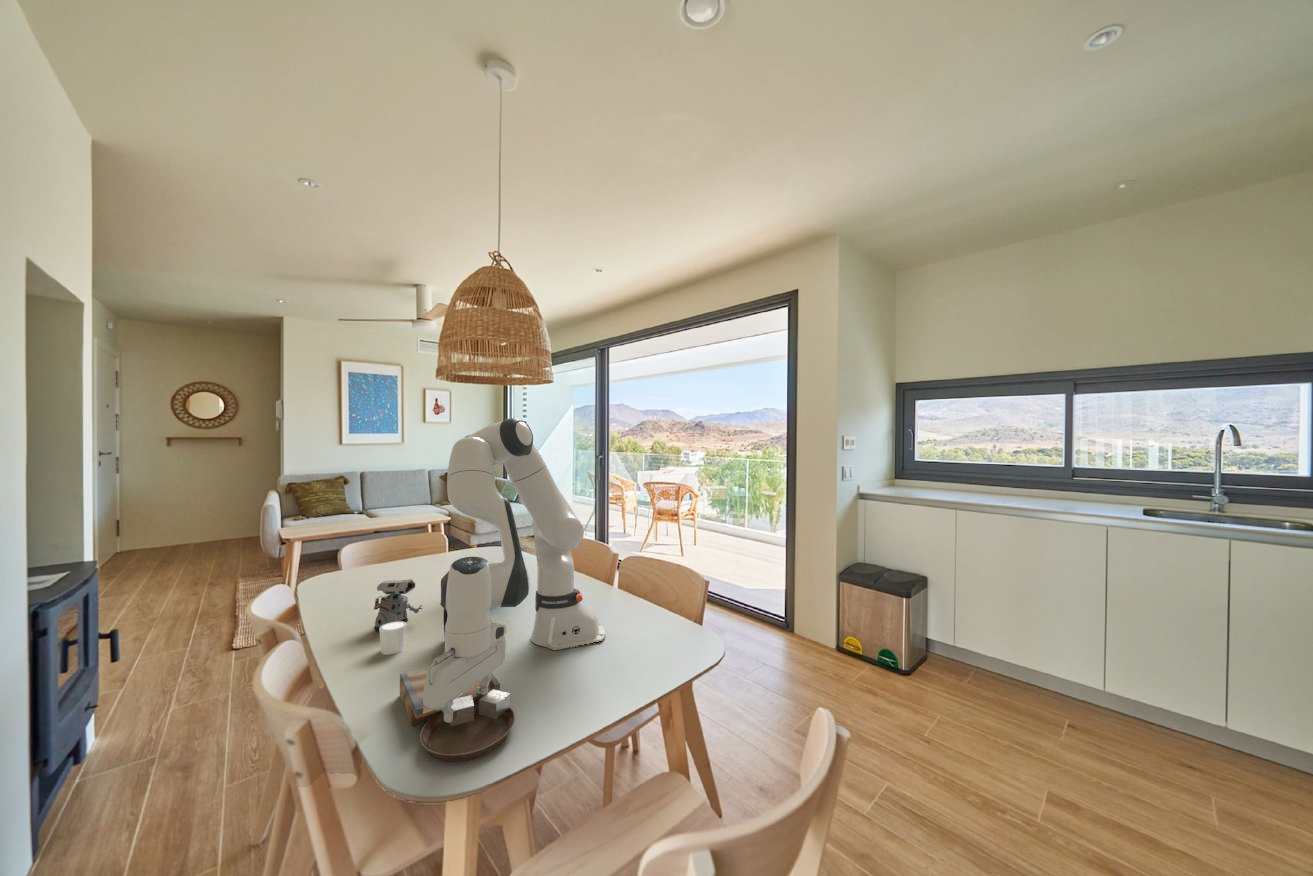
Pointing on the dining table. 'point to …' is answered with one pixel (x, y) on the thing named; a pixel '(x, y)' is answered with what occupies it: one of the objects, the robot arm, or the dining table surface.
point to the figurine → (393, 602)
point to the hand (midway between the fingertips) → (466, 707)
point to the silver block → (494, 703)
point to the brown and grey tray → (415, 689)
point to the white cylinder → (392, 637)
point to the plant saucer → (465, 735)
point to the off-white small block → (463, 710)
